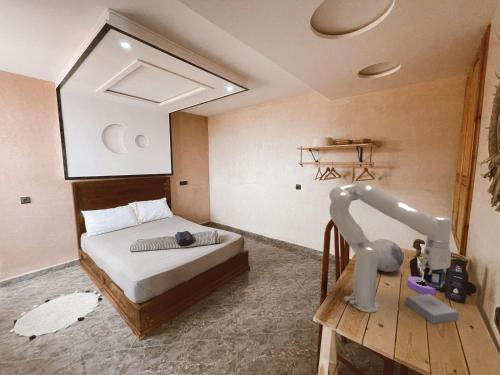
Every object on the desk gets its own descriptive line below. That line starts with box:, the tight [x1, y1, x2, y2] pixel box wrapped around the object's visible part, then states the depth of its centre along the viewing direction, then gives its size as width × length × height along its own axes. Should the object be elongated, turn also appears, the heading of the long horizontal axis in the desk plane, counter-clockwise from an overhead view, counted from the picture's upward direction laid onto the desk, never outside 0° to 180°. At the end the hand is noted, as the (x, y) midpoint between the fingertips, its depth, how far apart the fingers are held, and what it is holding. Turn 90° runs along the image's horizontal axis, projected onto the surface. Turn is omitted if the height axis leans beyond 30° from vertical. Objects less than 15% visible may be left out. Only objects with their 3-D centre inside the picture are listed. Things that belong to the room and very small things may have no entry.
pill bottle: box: [425, 265, 444, 290], centre depth 94 cm, size 6×6×11 cm
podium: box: [405, 294, 459, 325], centre depth 96 cm, size 13×13×4 cm
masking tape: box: [407, 276, 437, 296], centre depth 114 cm, size 12×12×4 cm
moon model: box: [371, 238, 405, 273], centre depth 133 cm, size 20×20×20 cm
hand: (433, 280), depth 95 cm, fingers closed on pill bottle, 6 cm apart
